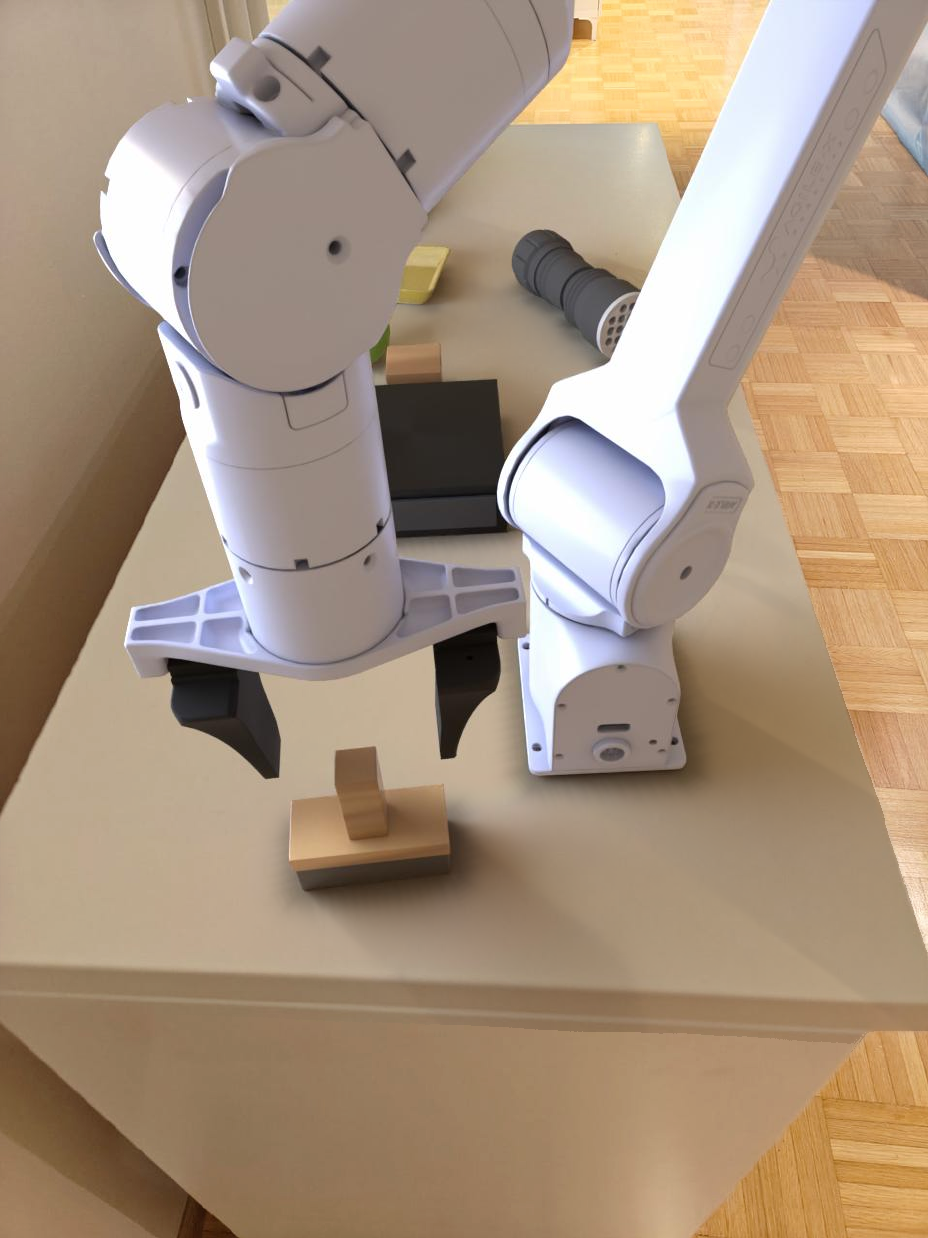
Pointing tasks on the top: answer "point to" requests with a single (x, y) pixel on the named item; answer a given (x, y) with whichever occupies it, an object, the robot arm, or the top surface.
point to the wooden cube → (414, 364)
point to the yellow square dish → (422, 273)
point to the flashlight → (575, 287)
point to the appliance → (443, 456)
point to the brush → (368, 828)
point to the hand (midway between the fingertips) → (359, 750)
